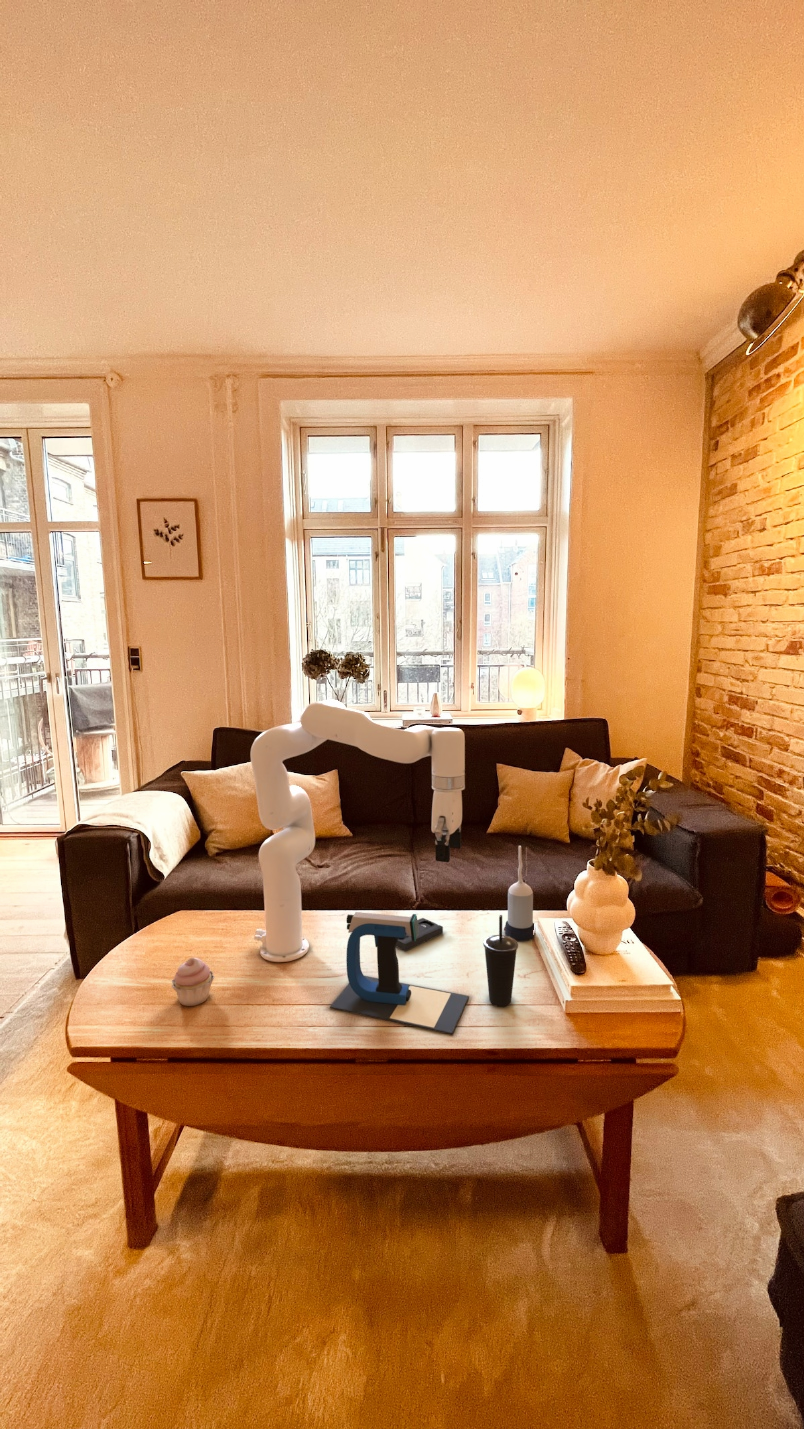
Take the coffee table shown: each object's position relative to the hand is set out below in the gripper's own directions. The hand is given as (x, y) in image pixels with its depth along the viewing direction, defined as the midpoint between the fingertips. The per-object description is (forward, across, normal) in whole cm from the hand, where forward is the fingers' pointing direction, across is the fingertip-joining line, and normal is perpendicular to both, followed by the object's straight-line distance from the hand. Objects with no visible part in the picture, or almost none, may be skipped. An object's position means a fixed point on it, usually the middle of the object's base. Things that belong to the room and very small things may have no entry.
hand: (448, 854), depth 140 cm
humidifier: (+31, -29, +12) cm, 44 cm away
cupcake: (+31, +26, -53) cm, 67 cm away
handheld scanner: (+31, +12, -12) cm, 35 cm away
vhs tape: (+31, -18, -15) cm, 39 cm away
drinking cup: (+31, +4, +13) cm, 34 cm away
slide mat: (+31, +12, -8) cm, 34 cm away
